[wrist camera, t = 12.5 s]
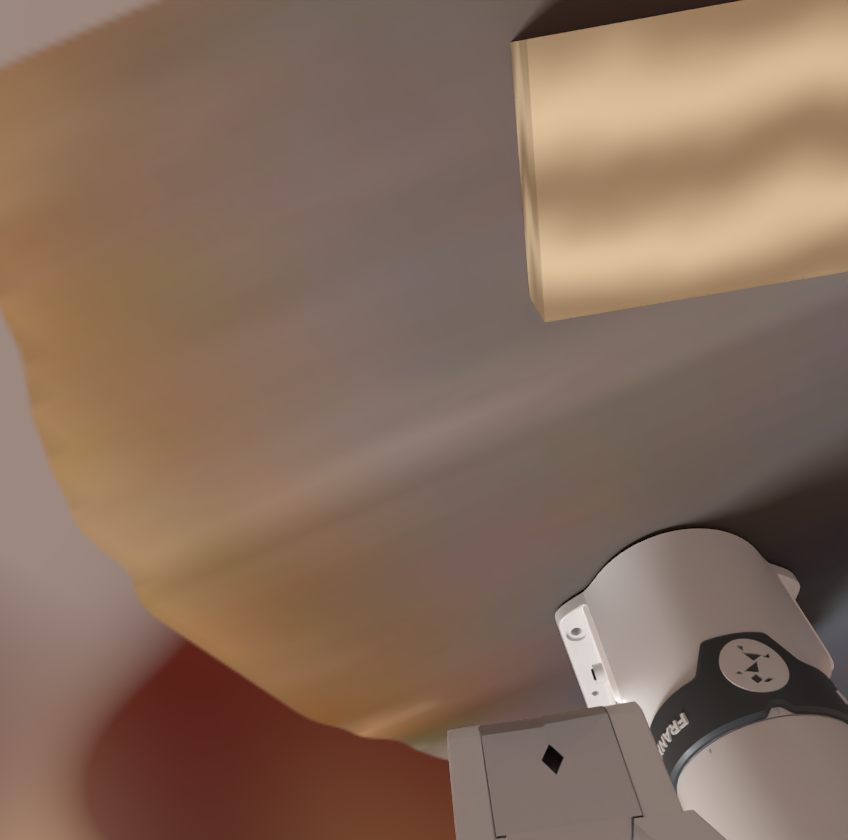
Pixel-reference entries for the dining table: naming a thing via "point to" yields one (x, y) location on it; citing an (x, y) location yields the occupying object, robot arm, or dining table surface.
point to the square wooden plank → (683, 154)
